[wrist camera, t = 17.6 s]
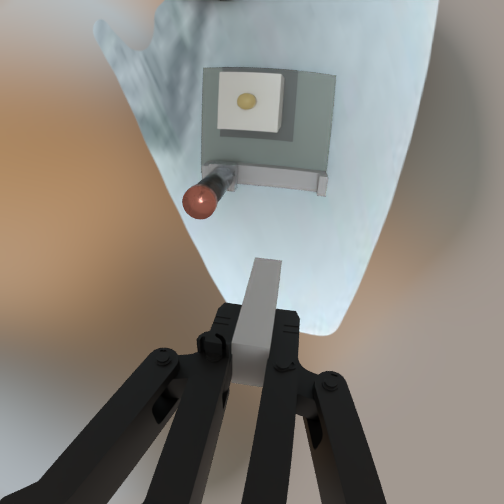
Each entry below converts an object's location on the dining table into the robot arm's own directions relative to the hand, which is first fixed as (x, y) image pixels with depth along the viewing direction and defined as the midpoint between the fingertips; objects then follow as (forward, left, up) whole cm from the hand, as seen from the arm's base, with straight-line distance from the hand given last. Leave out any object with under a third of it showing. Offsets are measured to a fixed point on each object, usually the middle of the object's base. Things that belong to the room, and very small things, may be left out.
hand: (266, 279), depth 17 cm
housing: (-9, -4, -23) cm, 25 cm away
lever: (0, -7, -21) cm, 22 cm away
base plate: (-7, -3, -24) cm, 25 cm away
